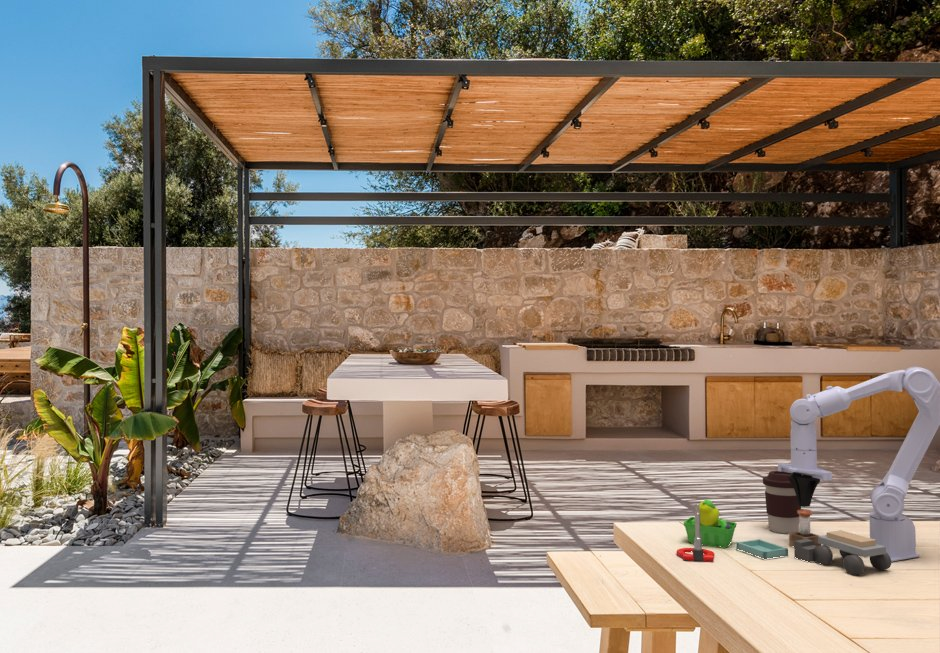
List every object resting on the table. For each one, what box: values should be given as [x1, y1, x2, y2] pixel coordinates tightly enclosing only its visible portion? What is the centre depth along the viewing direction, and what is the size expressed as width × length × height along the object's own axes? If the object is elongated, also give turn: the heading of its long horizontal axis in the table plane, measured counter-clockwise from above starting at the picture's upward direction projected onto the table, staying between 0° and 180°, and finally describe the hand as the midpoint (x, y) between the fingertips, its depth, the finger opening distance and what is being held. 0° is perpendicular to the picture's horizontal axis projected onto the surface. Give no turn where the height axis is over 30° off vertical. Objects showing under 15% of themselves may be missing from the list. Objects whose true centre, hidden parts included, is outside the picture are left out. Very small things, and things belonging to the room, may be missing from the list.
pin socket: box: [788, 531, 822, 547], centre depth 181 cm, size 5×5×3 cm
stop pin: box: [797, 508, 813, 537], centre depth 181 cm, size 3×3×9 cm
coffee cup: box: [762, 470, 802, 534], centre depth 197 cm, size 10×10×15 cm
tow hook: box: [676, 503, 715, 562], centre depth 175 cm, size 8×13×9 cm
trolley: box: [813, 529, 892, 576], centre depth 166 cm, size 12×10×7 cm
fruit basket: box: [682, 499, 738, 548], centre depth 185 cm, size 11×9×11 cm
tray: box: [735, 538, 789, 559], centre depth 176 cm, size 7×9×2 cm
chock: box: [793, 539, 816, 563], centre depth 172 cm, size 4×4×4 cm
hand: (804, 505), depth 181 cm, fingers closed
